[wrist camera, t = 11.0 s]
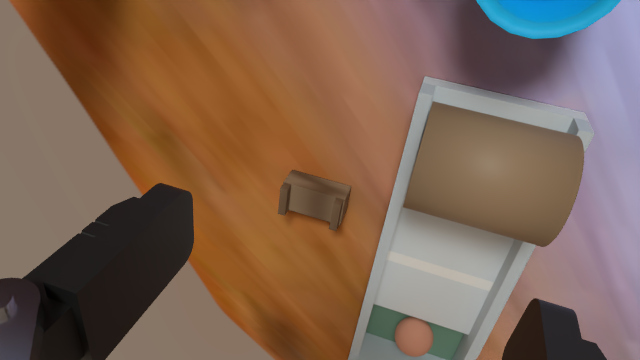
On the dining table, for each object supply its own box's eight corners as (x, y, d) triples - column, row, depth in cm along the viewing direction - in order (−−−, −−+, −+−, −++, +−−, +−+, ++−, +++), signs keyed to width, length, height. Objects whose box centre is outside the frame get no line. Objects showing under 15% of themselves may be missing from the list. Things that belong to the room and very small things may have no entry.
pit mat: (365, 330, 53) (365, 332, 53) (376, 293, 49) (376, 294, 49) (451, 359, 51) (451, 361, 51) (468, 323, 47) (468, 324, 47)
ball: (397, 318, 51) (402, 305, 48) (432, 330, 50) (440, 318, 47) (388, 353, 49) (392, 342, 45) (425, 366, 48) (432, 356, 45)
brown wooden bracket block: (289, 194, 46) (277, 213, 43) (292, 169, 44) (279, 187, 42) (346, 211, 45) (337, 231, 42) (351, 186, 43) (342, 205, 40)
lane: (355, 334, 54) (333, 408, 46) (425, 75, 36) (408, 124, 28) (457, 369, 51) (452, 453, 44) (584, 112, 34) (614, 175, 26)
